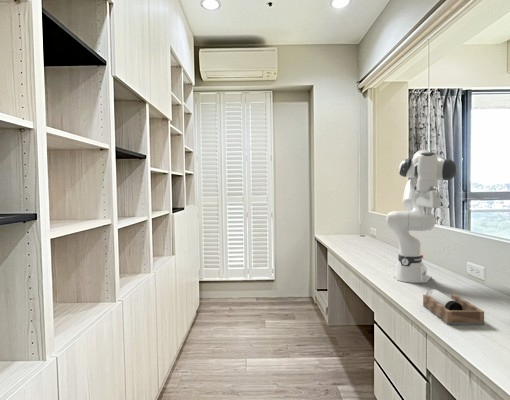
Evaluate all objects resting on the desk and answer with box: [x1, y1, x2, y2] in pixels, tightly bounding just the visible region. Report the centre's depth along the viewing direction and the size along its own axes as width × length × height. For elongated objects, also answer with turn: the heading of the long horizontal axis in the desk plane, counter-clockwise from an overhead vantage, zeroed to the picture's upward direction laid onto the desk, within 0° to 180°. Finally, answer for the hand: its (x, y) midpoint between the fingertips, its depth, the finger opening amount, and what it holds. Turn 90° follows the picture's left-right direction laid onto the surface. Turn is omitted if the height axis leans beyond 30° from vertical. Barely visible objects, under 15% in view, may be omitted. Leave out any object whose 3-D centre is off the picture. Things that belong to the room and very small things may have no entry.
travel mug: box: [425, 288, 463, 310], centre depth 158 cm, size 6×7×20 cm
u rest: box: [422, 293, 485, 326], centre depth 155 cm, size 22×14×5 cm, turn 179°
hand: (427, 216), depth 175 cm, fingers closed
